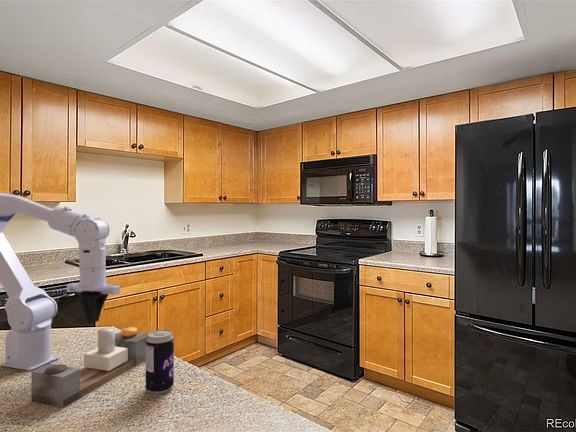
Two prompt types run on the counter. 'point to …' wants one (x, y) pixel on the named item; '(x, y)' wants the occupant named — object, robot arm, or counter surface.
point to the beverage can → (159, 361)
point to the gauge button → (129, 332)
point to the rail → (82, 375)
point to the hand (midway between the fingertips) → (93, 321)
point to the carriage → (106, 352)
